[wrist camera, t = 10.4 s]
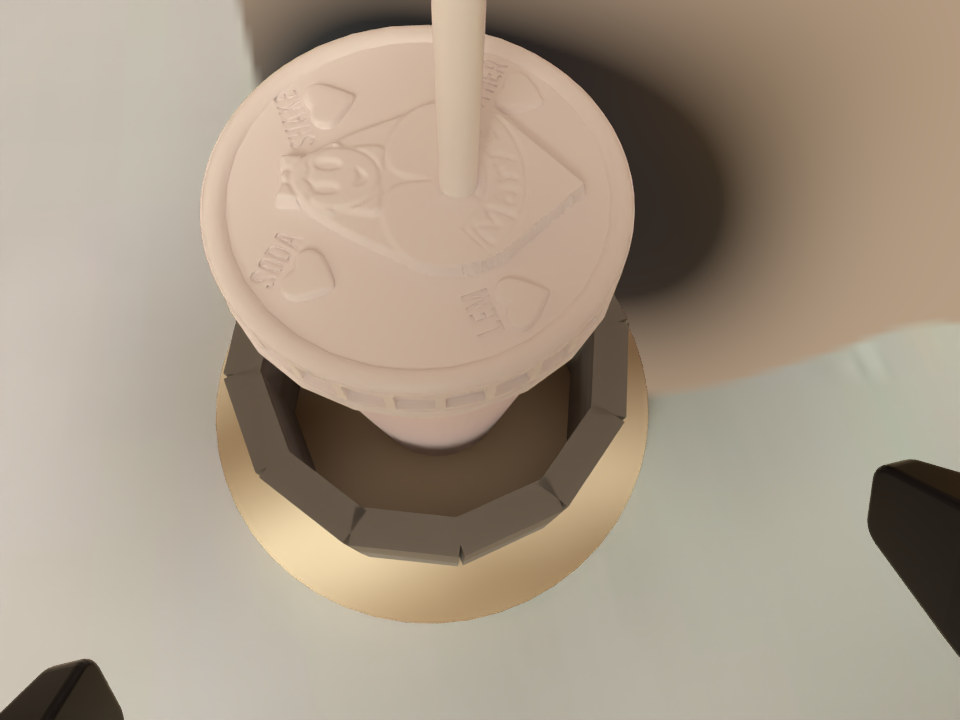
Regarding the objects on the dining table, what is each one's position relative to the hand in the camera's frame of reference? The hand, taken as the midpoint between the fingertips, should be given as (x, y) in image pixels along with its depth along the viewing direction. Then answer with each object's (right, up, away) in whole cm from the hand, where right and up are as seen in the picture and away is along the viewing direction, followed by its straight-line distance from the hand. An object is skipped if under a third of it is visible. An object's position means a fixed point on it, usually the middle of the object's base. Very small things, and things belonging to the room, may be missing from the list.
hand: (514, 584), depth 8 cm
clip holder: (-2, +1, +12) cm, 12 cm away
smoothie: (-2, +2, +11) cm, 12 cm away
